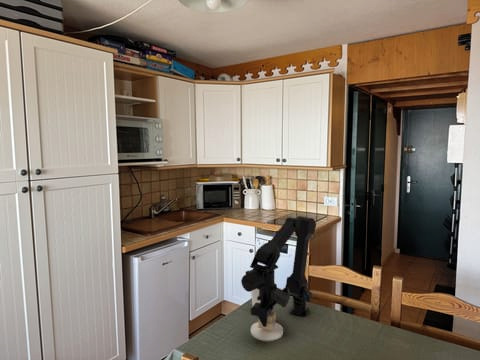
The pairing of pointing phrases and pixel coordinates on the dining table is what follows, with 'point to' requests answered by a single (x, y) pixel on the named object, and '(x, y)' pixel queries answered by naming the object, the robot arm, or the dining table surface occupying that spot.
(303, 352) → the dining table surface
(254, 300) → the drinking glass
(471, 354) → the dining table surface
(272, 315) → the oak block
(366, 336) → the dining table surface
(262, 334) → the plate
